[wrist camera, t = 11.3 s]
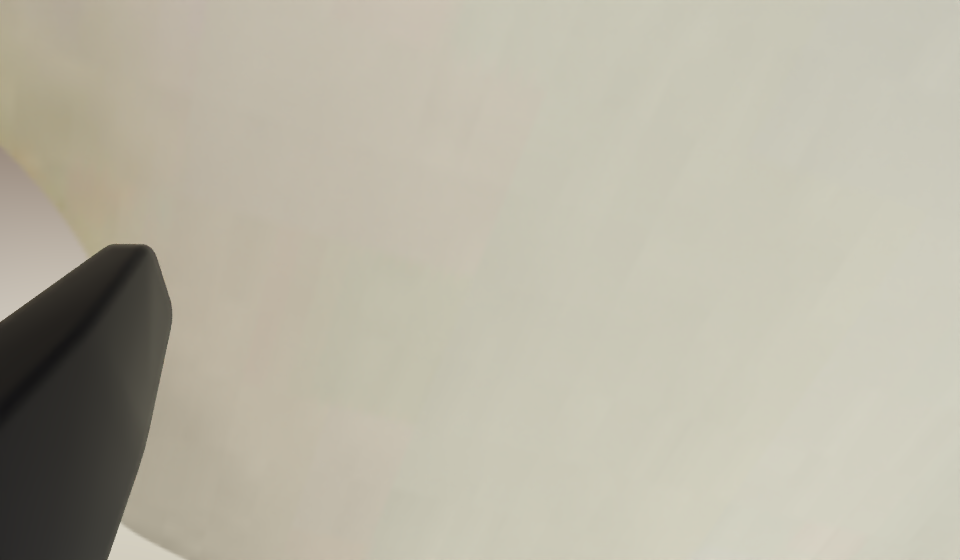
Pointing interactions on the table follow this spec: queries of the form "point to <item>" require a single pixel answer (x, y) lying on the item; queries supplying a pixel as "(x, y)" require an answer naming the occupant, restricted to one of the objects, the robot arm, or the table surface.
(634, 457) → the table surface
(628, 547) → the table surface
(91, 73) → the table surface
